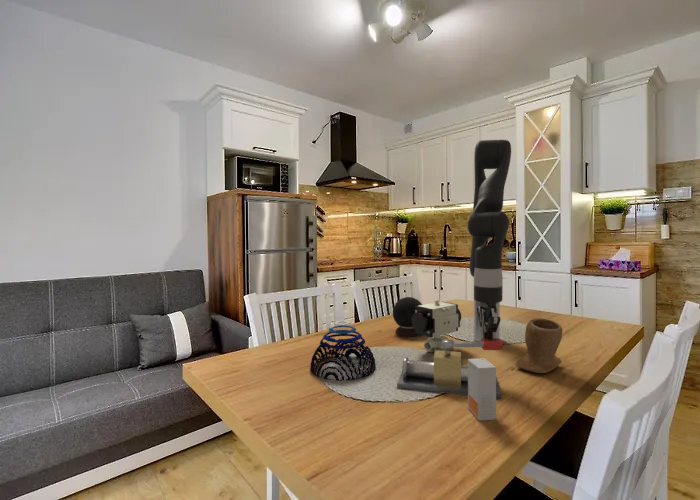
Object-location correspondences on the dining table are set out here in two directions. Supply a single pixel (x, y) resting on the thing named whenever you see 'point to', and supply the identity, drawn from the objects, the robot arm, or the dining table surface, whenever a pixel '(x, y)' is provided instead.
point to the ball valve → (436, 322)
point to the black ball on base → (405, 316)
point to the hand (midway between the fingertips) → (487, 344)
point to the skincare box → (482, 389)
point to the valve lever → (474, 344)
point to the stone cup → (541, 346)
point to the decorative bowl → (346, 354)
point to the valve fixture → (438, 374)
